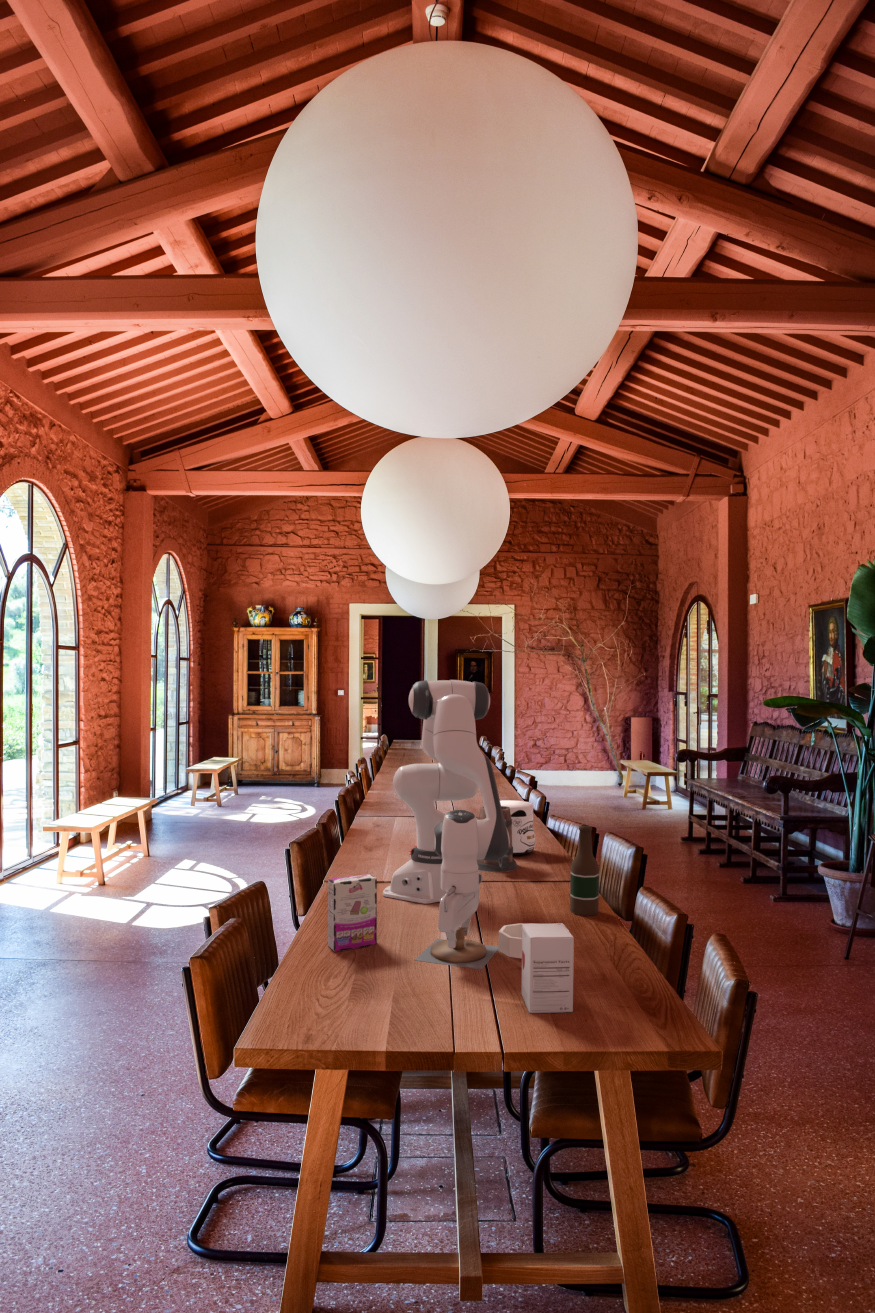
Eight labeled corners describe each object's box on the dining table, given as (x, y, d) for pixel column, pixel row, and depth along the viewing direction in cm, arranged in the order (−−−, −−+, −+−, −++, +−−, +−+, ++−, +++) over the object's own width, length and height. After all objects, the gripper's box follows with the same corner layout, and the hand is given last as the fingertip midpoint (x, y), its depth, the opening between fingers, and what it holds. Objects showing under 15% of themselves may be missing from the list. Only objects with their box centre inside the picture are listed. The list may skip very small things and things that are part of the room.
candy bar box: (369, 940, 204) (370, 873, 204) (377, 946, 199) (378, 877, 199) (326, 946, 198) (327, 877, 199) (333, 953, 194) (334, 882, 194)
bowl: (494, 957, 192) (494, 935, 192) (507, 942, 203) (507, 921, 203) (543, 963, 189) (543, 941, 189) (553, 947, 199) (553, 927, 200)
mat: (414, 962, 188) (414, 960, 188) (437, 941, 203) (437, 938, 203) (481, 972, 183) (481, 969, 183) (500, 949, 198) (500, 946, 198)
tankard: (464, 860, 289) (465, 803, 289) (511, 859, 292) (512, 802, 292) (480, 877, 266) (480, 815, 266) (530, 876, 269) (531, 814, 269)
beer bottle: (598, 917, 225) (599, 829, 225) (569, 915, 226) (570, 827, 226) (598, 909, 232) (599, 824, 233) (570, 907, 234) (571, 822, 234)
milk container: (537, 858, 294) (538, 808, 294) (489, 857, 294) (489, 807, 294) (532, 848, 311) (533, 800, 312) (486, 847, 311) (487, 799, 312)
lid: (422, 959, 189) (423, 934, 189) (440, 941, 201) (441, 918, 201) (477, 966, 185) (477, 941, 185) (492, 947, 197) (492, 924, 197)
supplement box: (520, 995, 170) (521, 922, 170) (562, 995, 171) (563, 922, 171) (528, 1014, 161) (529, 937, 161) (573, 1013, 162) (574, 936, 162)
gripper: (458, 894, 182) (457, 957, 182) (484, 873, 202) (483, 929, 201) (431, 891, 184) (430, 953, 184) (459, 870, 204) (458, 926, 204)
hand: (458, 941), depth 193 cm, fingers open, 8 cm apart
